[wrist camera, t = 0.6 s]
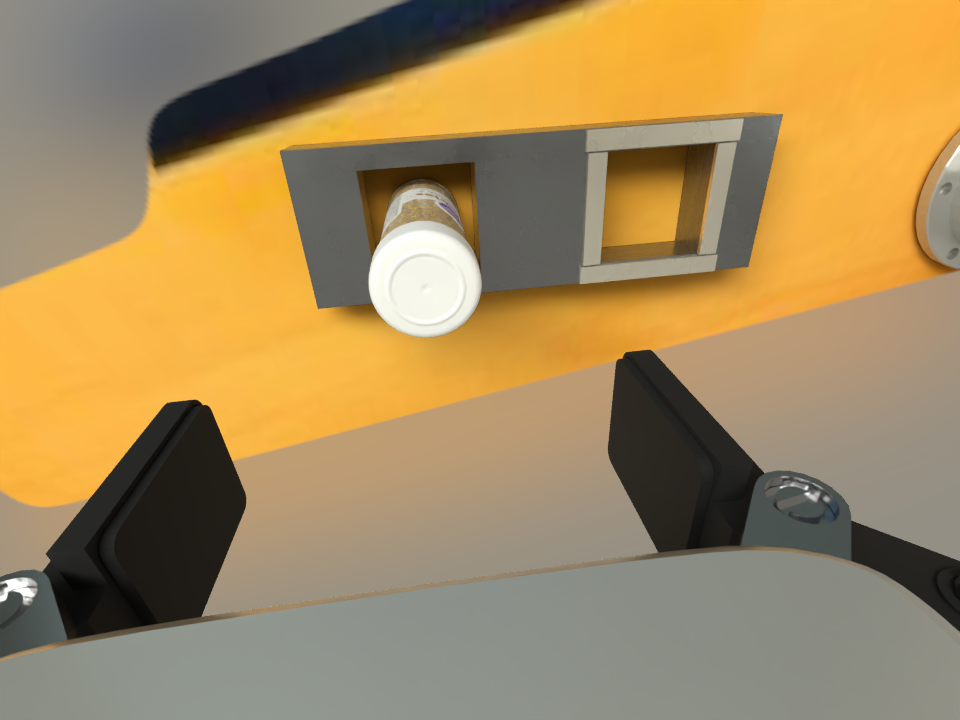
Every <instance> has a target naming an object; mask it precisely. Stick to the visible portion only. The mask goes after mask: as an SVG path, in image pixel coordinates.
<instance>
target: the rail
mask: <svg viewBox="0 0 960 720" xmlns="http://www.w3.org/2000/svg"><path fill="white" fill-rule="evenodd" d="M782 116H783V114H769V113H753V112H749V113H736V114H722V115H708V116H694V117H680V118H667V119H653V120H639V121H625V122H611V123H597V124H584V125H570V126H556V127H542V128H528V129H515V130H501V131H487V132H473V133H459V134H446V135H432V136H418V137H404V138H390V139H377V140H363V141H349V142H335V143H321V144H308V145H294V146H290V147H288V148H286V149H283V150H281V151H280V154H281V158H282V163H283V167H284V171H285V175H286V179H287V183H288V187H289V191H290V195H291V200H292V204H293V208H294V212H295V216H296V220H297V224H298V228H299V233H300V237H301V241H302V245H303V249H304V253H305V257H306V261H307V265H308V270H309V274H310V278H311V282H312V286H313V290H314V294H315V298H316V303H317V307H318V309H321V308H331V307H341V306H352V305H362V304H372V300H371V297H370V292H369V272H370V266H371V262H372V258H373V255H374V252H375V250H376V247H375V241H374V235H373V229H372V223H371V217H370V211H369V205H368V199H367V193H366V187H365V181H364V175H363V170H374V169H387V168H400V167H413V166H426V165H439V164H452V163H465V162H470V173H471V189H472V205H473V221H474V237H475V253H476V259H477V261H478V265H479V269H480V273H481V279H482V289H481V293H485V292H495V291H505V290H515V289H526V288H536V287H546V286H556V285H567V284H577V283H579V284H587V283H598V282H608V281H618V280H628V279H639V278H649V277H659V276H669V275H679V274H690V273H700V272H710V271H715V270H720V269H731V268H741V267H748V265H749V261H750V256H751V252H752V248H753V243H754V239H755V234H756V230H757V226H758V221H759V217H760V212H761V208H762V204H763V199H764V195H765V190H766V186H767V182H768V177H769V173H770V168H771V164H772V160H773V155H774V151H775V146H776V142H777V138H778V133H779V129H780V124H781V120H782ZM686 145H689V149H688V155H687V162H686V169H685V176H684V183H683V190H682V197H681V204H680V210H679V217H678V224H677V231H676V238H675V241H668V242H658V243H647V244H636V245H625V246H614V247H603V248H601V246H602V232H603V217H604V203H605V188H606V174H607V159H608V151H621V150H634V149H647V148H660V147H673V146H686Z"/></svg>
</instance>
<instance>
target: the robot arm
mask: <svg viewBox="0 0 960 720" xmlns="http://www.w3.org/2000/svg"><path fill="white" fill-rule="evenodd" d="M916 231H917V238H918V240H919V243H920V245H921V247H922V249H923V251H924V252H925V253H926V254H927V255H928V256H929V257H930V258H931V259H933V260H934V261H936V262H938V263H940V264H942V265H946V266H949V267H952V268H955V269H960V131H959V132H958V133H957V134H956V135H955V136H954V137H953V138H952V140H951V141H950V142H949V144H948V145H947V146H946V148H945V149H944V150H943V152H942V153H941V154H940V156H939V157H938V159H937V161H936V162H935V164H934V166H933V168H932V169H931V171H930V173H929V175H928V177H927V179H926V182H925V184H924V186H923V189H922V191H921V195H920V199H919V202H918V206H917V213H916ZM608 454H609V458H610V461H611V463H612V465H613V467H614V469H615V471H616V473H617V475H618V477H619V479H620V480H621V482H622V484H623V486H624V488H625V490H626V492H627V494H628V495H629V497H630V499H631V501H632V503H633V505H634V507H635V509H636V511H637V512H638V515H639V516H640V518H641V520H642V522H643V524H644V526H645V528H646V530H647V531H648V534H649V535H650V537H651V539H652V541H653V543H654V545H655V547H656V549H657V551H658V552H659V553H653V554H645V555H636V556H628V557H620V558H611V559H604V560H597V561H589V562H582V563H575V564H567V565H561V566H553V567H545V568H538V569H531V570H524V571H517V572H509V573H502V574H495V575H488V576H480V577H473V578H466V579H460V580H452V581H445V582H438V583H431V584H423V585H416V586H409V587H402V588H396V589H389V590H382V591H375V592H368V593H361V594H354V595H347V596H340V597H333V598H326V599H320V600H312V601H306V602H299V603H293V604H285V605H279V606H272V607H265V608H259V609H252V610H245V611H239V612H232V613H225V614H218V615H211V616H205V617H201V616H202V614H203V611H204V609H205V606H206V604H207V601H208V598H209V596H210V594H211V591H212V589H213V587H214V584H215V581H216V579H217V577H218V574H219V572H220V569H221V567H222V564H223V562H224V559H225V557H226V555H227V552H228V550H229V547H230V545H231V542H232V540H233V537H234V535H235V532H236V530H237V528H238V525H239V522H240V520H241V518H242V515H243V513H244V510H245V507H246V494H245V491H244V489H243V486H242V484H241V482H240V479H239V477H238V474H237V472H236V469H235V467H234V464H233V462H232V459H231V457H230V455H229V452H228V450H227V447H226V445H225V442H224V440H223V437H222V435H221V433H220V430H219V428H218V425H217V423H216V420H215V418H214V415H213V413H212V411H211V409H210V407H209V406H207V405H202V404H201V403H200V402H199V401H198V400H188V401H178V402H170V403H167V404H166V405H164V407H163V408H162V409H161V410H160V412H159V413H158V414H157V415H156V417H155V418H154V419H153V420H152V422H151V423H150V424H149V425H148V427H147V428H146V429H145V430H144V432H143V433H142V434H141V435H140V437H139V438H138V439H137V440H136V442H135V443H134V444H133V445H132V447H131V448H130V449H129V450H128V452H127V453H126V454H125V455H124V457H123V458H122V459H121V460H120V462H119V463H118V464H117V465H116V467H115V468H114V469H113V470H112V472H111V473H110V474H109V475H108V477H107V478H106V479H105V480H104V482H103V483H102V484H101V485H100V487H99V488H98V489H97V490H96V492H95V493H94V494H93V495H92V497H91V498H90V499H89V500H88V502H87V503H86V504H85V506H84V507H83V508H82V509H81V510H80V512H79V513H78V514H77V515H76V517H75V518H74V519H73V521H72V522H71V523H70V524H69V526H68V527H67V528H66V529H65V531H64V532H63V533H62V534H61V536H60V537H59V538H58V539H57V541H56V542H55V543H54V544H53V546H52V547H51V548H50V549H49V550H48V552H47V553H46V555H47V556H48V557H49V559H50V560H51V561H50V563H49V564H48V565H47V566H46V568H45V569H44V570H43V572H41V571H38V570H21V571H17V572H14V573H10V574H6V575H4V576H1V577H0V720H960V561H958V560H955V559H953V558H950V557H947V556H944V555H942V554H939V553H936V552H934V551H931V550H928V549H926V548H923V547H920V546H918V545H915V544H912V543H910V542H907V541H904V540H902V539H899V538H896V537H893V536H891V535H888V534H885V533H883V532H880V531H877V530H875V529H872V528H869V527H867V526H864V525H861V524H859V523H856V522H853V521H851V512H850V509H849V505H848V504H847V503H846V501H845V500H844V498H843V497H842V496H841V495H840V494H839V493H838V492H837V491H835V490H834V489H833V488H832V487H830V486H829V485H827V484H825V483H823V482H822V481H820V480H818V479H816V478H813V477H811V476H808V475H805V474H802V473H797V472H792V471H772V472H767V473H764V472H763V471H762V470H761V469H760V468H759V467H758V466H757V465H756V463H755V462H754V461H753V460H752V459H751V458H750V457H749V456H748V455H747V454H746V452H745V451H744V450H743V449H742V448H741V447H740V446H739V445H738V444H737V443H736V442H735V440H734V439H733V438H732V437H731V436H730V435H729V434H728V433H727V432H726V431H725V430H724V428H723V427H722V426H721V425H720V424H719V423H718V422H717V421H716V420H715V419H714V418H713V416H712V415H711V414H710V413H709V412H708V411H707V410H706V409H705V408H704V407H703V406H702V404H700V403H699V401H698V400H697V399H696V398H695V397H694V396H693V395H692V394H691V393H690V392H689V391H688V389H687V388H686V387H685V386H684V385H683V384H682V383H681V382H680V381H679V380H678V379H677V378H676V376H675V375H674V374H673V373H672V372H671V371H670V370H669V369H668V368H667V367H666V365H665V364H664V363H663V362H662V361H661V360H660V359H659V358H658V357H657V356H656V355H655V353H654V352H653V351H651V350H642V351H633V352H626V353H625V354H624V356H623V359H618V360H617V362H616V369H615V380H614V390H613V401H612V411H611V421H610V432H609V442H608Z"/></svg>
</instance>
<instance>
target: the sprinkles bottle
mask: <svg viewBox="0 0 960 720" xmlns="http://www.w3.org/2000/svg"><path fill="white" fill-rule="evenodd" d="M481 289H482V279H481V273H480V269H479V265H478V261H477V259H476V256H475V253H474V251H473V249H472V248H471V246H470V245H469V243H468V242H467V241H466V240H465V233H464V230H463V226H462V223H461V220H460V216H459V212H458V208H457V204H456V201H455V199H454V197H453V196H452V194H451V192H450V191H449V190H448V189H447V188H446V187H445V186H443V185H442V184H440V183H438V182H436V181H434V180H430V179H423V178H419V179H413V180H410V181H408V182H406V183H404V184H402V185H401V186H400V187H398V189H396V190H395V191H394V192H393V194H392V196H391V199H390V201H389V203H388V207H387V215H386V219H385V223H384V228H383V232H382V236H381V240H380V243H379V245H378V246H377V248H376V250H375V252H374V255H373V258H372V262H371V266H370V272H369V292H370V297H371V300H372V303H373V305H374V307H375V309H376V311H377V312H378V313H379V315H380V316H381V317H382V318H383V319H384V320H385V321H386V322H387V323H388V324H389V325H390V326H391V327H393V328H394V329H396V330H398V331H400V332H402V333H405V334H407V335H411V336H415V337H427V338H428V337H437V336H441V335H444V334H447V333H450V332H452V331H454V330H455V329H457V328H459V327H460V326H461V325H463V324H464V323H465V322H466V321H467V320H468V319H469V318H470V316H471V315H472V314H473V312H474V311H475V309H476V307H477V305H478V302H479V299H480V295H481Z"/></svg>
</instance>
